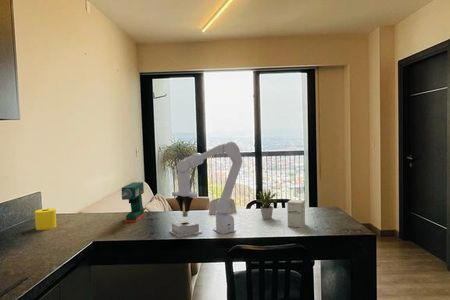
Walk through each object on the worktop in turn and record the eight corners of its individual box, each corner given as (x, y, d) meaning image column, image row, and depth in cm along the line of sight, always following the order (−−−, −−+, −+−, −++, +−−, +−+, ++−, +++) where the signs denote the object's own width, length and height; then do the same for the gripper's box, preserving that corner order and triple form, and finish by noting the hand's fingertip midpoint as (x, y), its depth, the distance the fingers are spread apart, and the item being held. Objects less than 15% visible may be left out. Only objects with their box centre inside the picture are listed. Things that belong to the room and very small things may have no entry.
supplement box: (287, 226, 176) (286, 201, 175) (291, 223, 183) (291, 199, 182) (301, 227, 173) (301, 202, 172) (305, 224, 179) (305, 199, 179)
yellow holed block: (47, 230, 183) (46, 212, 183) (31, 229, 185) (30, 212, 185) (60, 225, 193) (59, 208, 193) (44, 224, 195) (43, 208, 195)
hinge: (209, 214, 207) (208, 198, 210) (209, 215, 212) (207, 199, 215) (237, 212, 210) (235, 196, 213) (235, 213, 214) (234, 197, 217)
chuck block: (201, 233, 168) (201, 224, 168) (178, 237, 162) (178, 228, 162) (191, 227, 179) (191, 219, 179) (169, 231, 173) (169, 222, 173)
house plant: (280, 221, 185) (279, 191, 185) (254, 221, 187) (253, 191, 187) (280, 215, 199) (279, 187, 199) (256, 215, 201) (255, 187, 201)
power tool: (130, 228, 182) (129, 190, 181) (117, 228, 182) (115, 190, 181) (145, 214, 213) (144, 182, 213) (134, 214, 214) (133, 182, 213)
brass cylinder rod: (188, 215, 174) (188, 200, 173) (185, 217, 171) (185, 200, 171) (184, 215, 175) (184, 199, 174) (181, 216, 173) (181, 200, 172)
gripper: (200, 183, 172) (201, 211, 172) (178, 182, 180) (179, 208, 180) (191, 185, 166) (192, 214, 166) (168, 184, 174) (169, 211, 174)
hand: (184, 211), depth 173 cm, fingers closed on brass cylinder rod, 2 cm apart
